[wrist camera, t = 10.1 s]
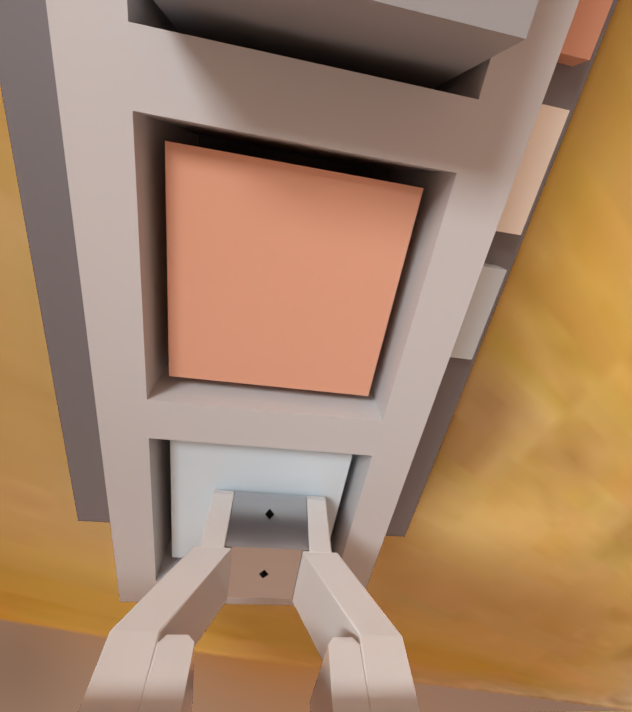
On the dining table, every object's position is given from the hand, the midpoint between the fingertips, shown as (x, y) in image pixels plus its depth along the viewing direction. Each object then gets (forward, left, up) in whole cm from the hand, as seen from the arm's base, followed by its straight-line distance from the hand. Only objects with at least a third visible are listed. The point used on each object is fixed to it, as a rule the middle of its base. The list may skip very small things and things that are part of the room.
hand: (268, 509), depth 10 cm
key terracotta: (0, +6, -4) cm, 7 cm away
